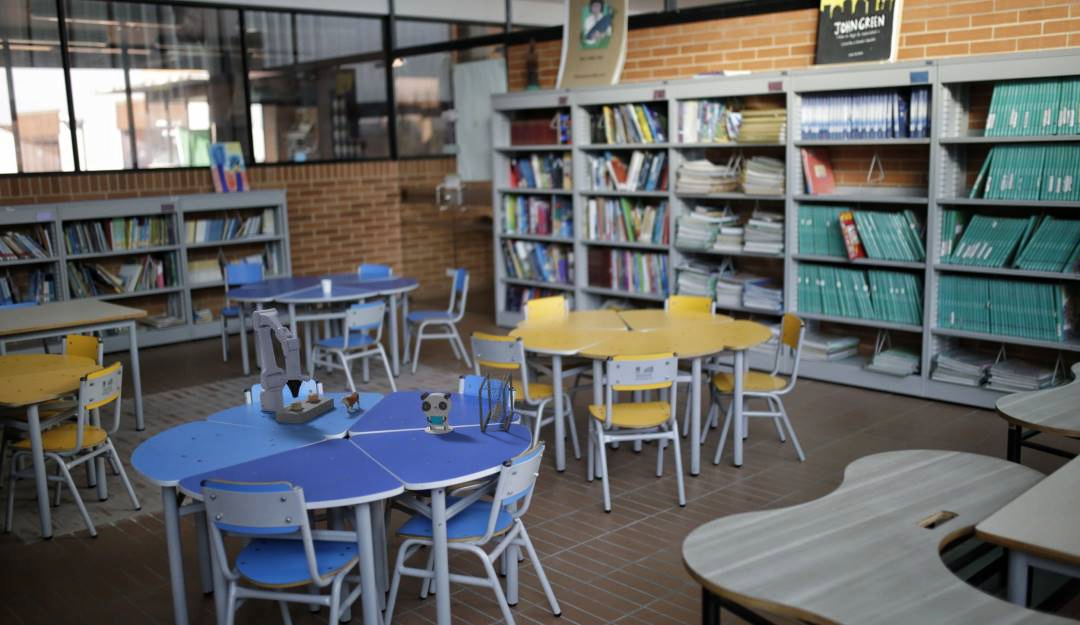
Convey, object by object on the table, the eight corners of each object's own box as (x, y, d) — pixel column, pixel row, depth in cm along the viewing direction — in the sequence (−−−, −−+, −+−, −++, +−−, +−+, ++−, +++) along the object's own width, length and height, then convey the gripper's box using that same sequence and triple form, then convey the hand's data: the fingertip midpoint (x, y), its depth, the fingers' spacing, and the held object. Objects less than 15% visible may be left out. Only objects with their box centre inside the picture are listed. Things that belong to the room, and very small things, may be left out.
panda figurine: (419, 433, 379) (416, 396, 377) (428, 425, 390) (426, 389, 388) (447, 434, 377) (445, 397, 374) (457, 426, 387) (455, 390, 385)
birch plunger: (289, 411, 404) (288, 403, 403) (295, 408, 408) (294, 400, 408) (298, 412, 403) (297, 404, 402) (304, 409, 407) (303, 401, 406)
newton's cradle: (506, 432, 377) (504, 388, 374) (480, 433, 377) (478, 389, 374) (513, 411, 406) (511, 370, 403) (488, 411, 407) (487, 370, 404)
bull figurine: (339, 415, 409) (337, 396, 408) (354, 406, 422) (352, 388, 420) (348, 415, 408) (347, 397, 406) (363, 407, 420) (361, 389, 419)
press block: (276, 421, 402) (275, 412, 401) (310, 405, 426) (310, 396, 425) (300, 423, 398) (300, 414, 397) (334, 406, 422) (333, 398, 421)
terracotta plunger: (306, 403, 416) (305, 395, 416) (312, 400, 420) (311, 392, 420) (315, 403, 415) (314, 396, 414) (320, 401, 419) (320, 393, 418)
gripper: (272, 367, 401) (275, 398, 403) (302, 368, 396) (305, 400, 398) (282, 363, 407) (285, 394, 410) (311, 364, 402) (314, 396, 405)
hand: (295, 397), depth 404 cm, fingers closed
